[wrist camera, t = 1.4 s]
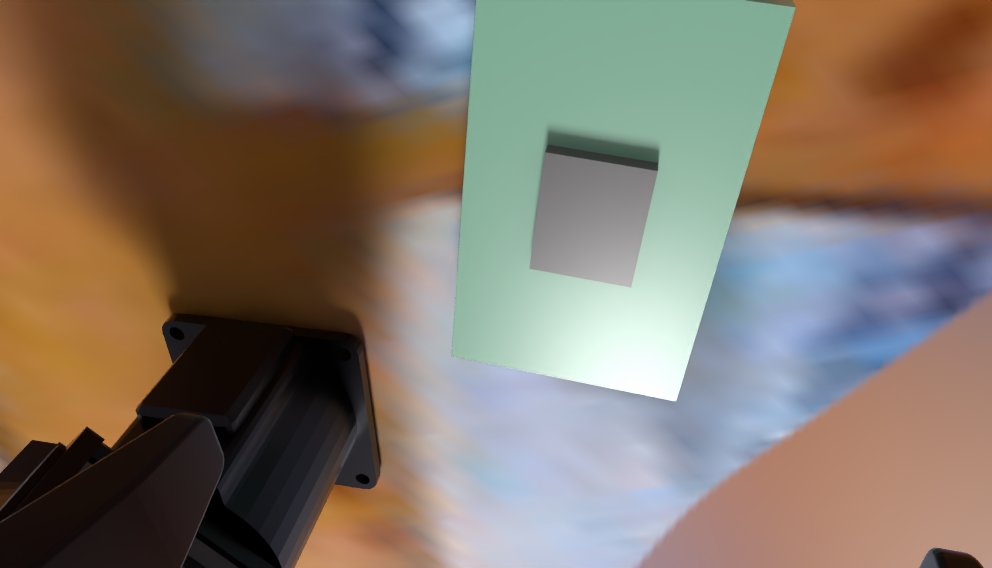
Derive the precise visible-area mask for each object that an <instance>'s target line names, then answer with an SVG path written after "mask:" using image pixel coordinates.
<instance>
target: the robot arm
mask: <svg viewBox="0 0 992 568" xmlns="http://www.w3.org/2000/svg"><path fill="white" fill-rule="evenodd" d="M178 328H179V329H180V330H179V329H178ZM181 330H182V331H183V332H182V331H181ZM162 331H163V335H164V338H165V341H166V344H167V347H168V350H169V353H170V356H171V360H172V363H173V365H172V366H171V367H170V368H169V369H168V371H167V372H166V373H165V374H164V375H163V376H162V378H161V379H160V380H159V381H158V382H157V384H156V385H155V386H154V387H153V388H152V390H151V391H150V392H149V393H148V394H147V395H146V397H145V398H144V399H143V400H142V401H141V403H140V404H139V405H138V406H137V408H136V413H137V415H138V416H137V417H136V419H135V420H134V421H133V422H132V423H131V425H130V426H129V427H128V428H127V430H126V431H125V432H124V433H123V434H122V436H121V437H120V438H119V439H118V440H117V442H116V443H115V444H114V445H113V446H112V448H110V447H108V446H107V445H105V444H104V443H103V441H104V440H105V439H104V438H102V437H101V436H99V435H98V434H97V433H95V432H94V431H92V430H91V429H90V428H88V427H86V428H85V429H84V430H83V431H82V432H81V433H80V434H79V435H78V436H77V437H76V438H75V439H74V440H73V441H72V442H71V443H70V444H69V445H68V446H67V447H66V446H64V445H63V444H62V443H60V442H59V443H58V444H54V443H48V442H42V441H35V440H32V441H31V442H30V443H29V444H28V445H27V446H26V447H25V448H24V449H23V450H22V451H21V452H20V453H19V454H18V455H17V456H16V457H15V458H14V460H13V461H12V462H11V463H10V464H9V465H8V466H7V467H6V468H5V469H4V470H3V471H2V472H1V473H0V568H294V567H295V565H296V563H297V561H298V559H299V557H300V555H301V553H302V551H303V549H304V547H305V545H306V542H307V540H308V538H309V536H310V534H311V532H312V530H313V528H314V526H315V524H316V522H317V520H318V517H319V515H320V513H321V511H322V509H323V507H324V505H325V503H326V501H327V499H328V497H329V495H330V492H331V490H332V488H333V486H334V484H336V485H343V486H349V487H356V488H362V489H371V488H373V487H374V486H375V485H376V484H377V482H378V479H379V477H380V466H379V458H378V451H377V444H376V437H375V430H374V422H373V415H372V408H371V401H370V394H369V386H368V379H367V372H366V365H365V357H364V350H363V346H362V343H361V342H360V341H359V340H358V339H357V338H356V337H354V336H353V335H350V334H347V333H340V332H332V331H323V330H315V329H306V328H298V327H290V326H281V325H273V324H264V323H256V322H248V321H239V320H231V319H222V318H214V317H206V316H197V315H189V314H180V313H179V314H173V315H172V316H170V317H169V319H168V320H167V321H166V322H165V323H164V324H163V327H162ZM341 348H345V349H347V350H348V351H349V352H350V353H348V352H345V351H344V350H342V349H341ZM920 568H983V566H982V565H981V564H980V562H979V561H978V560H976V558H974V557H973V556H972V555H970V554H967V553H963V552H958V551H952V550H947V549H941V548H933V549H931V550H929V551H928V553H927V554H926V556H925V558H924V560H923V562H922V564H921V566H920Z"/></svg>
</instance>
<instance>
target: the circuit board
mask: <svg viewBox="0 0 992 568" xmlns="http://www.w3.org/2000/svg"><path fill="white" fill-rule="evenodd" d="M795 8H796V7H795V5H794V3H793V0H476V9H475V23H474V37H473V52H472V66H471V81H470V95H469V110H468V124H467V138H466V153H465V167H464V182H463V196H462V211H461V225H460V239H459V254H458V268H457V283H456V297H455V312H454V326H453V341H452V355H451V356H452V357H457V358H462V359H467V360H472V361H477V362H482V363H487V364H492V365H497V366H502V367H507V368H512V369H517V370H522V371H527V372H532V373H537V374H542V375H547V376H552V377H557V378H562V379H567V380H572V381H576V382H581V383H586V384H591V385H596V386H601V387H606V388H611V389H616V390H621V391H626V392H631V393H636V394H641V395H646V396H651V397H656V398H661V399H666V400H671V401H676V400H677V396H678V393H679V390H680V387H681V383H682V380H683V377H684V373H685V370H686V367H687V364H688V360H689V357H690V354H691V350H692V347H693V344H694V341H695V337H696V334H697V331H698V327H699V324H700V321H701V317H702V314H703V311H704V308H705V304H706V301H707V298H708V294H709V291H710V288H711V285H712V281H713V278H714V275H715V271H716V268H717V265H718V262H719V258H720V255H721V252H722V248H723V245H724V242H725V238H726V235H727V232H728V229H729V225H730V222H731V219H732V215H733V212H734V209H735V206H736V202H737V199H738V196H739V192H740V189H741V186H742V183H743V179H744V176H745V173H746V169H747V166H748V163H749V159H750V156H751V153H752V150H753V146H754V143H755V140H756V136H757V133H758V130H759V127H760V123H761V120H762V117H763V113H764V110H765V107H766V104H767V100H768V97H769V94H770V90H771V87H772V84H773V80H774V77H775V74H776V71H777V67H778V64H779V61H780V57H781V54H782V51H783V48H784V44H785V41H786V38H787V34H788V31H789V28H790V25H791V21H792V18H793V15H794V11H795Z"/></svg>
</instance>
